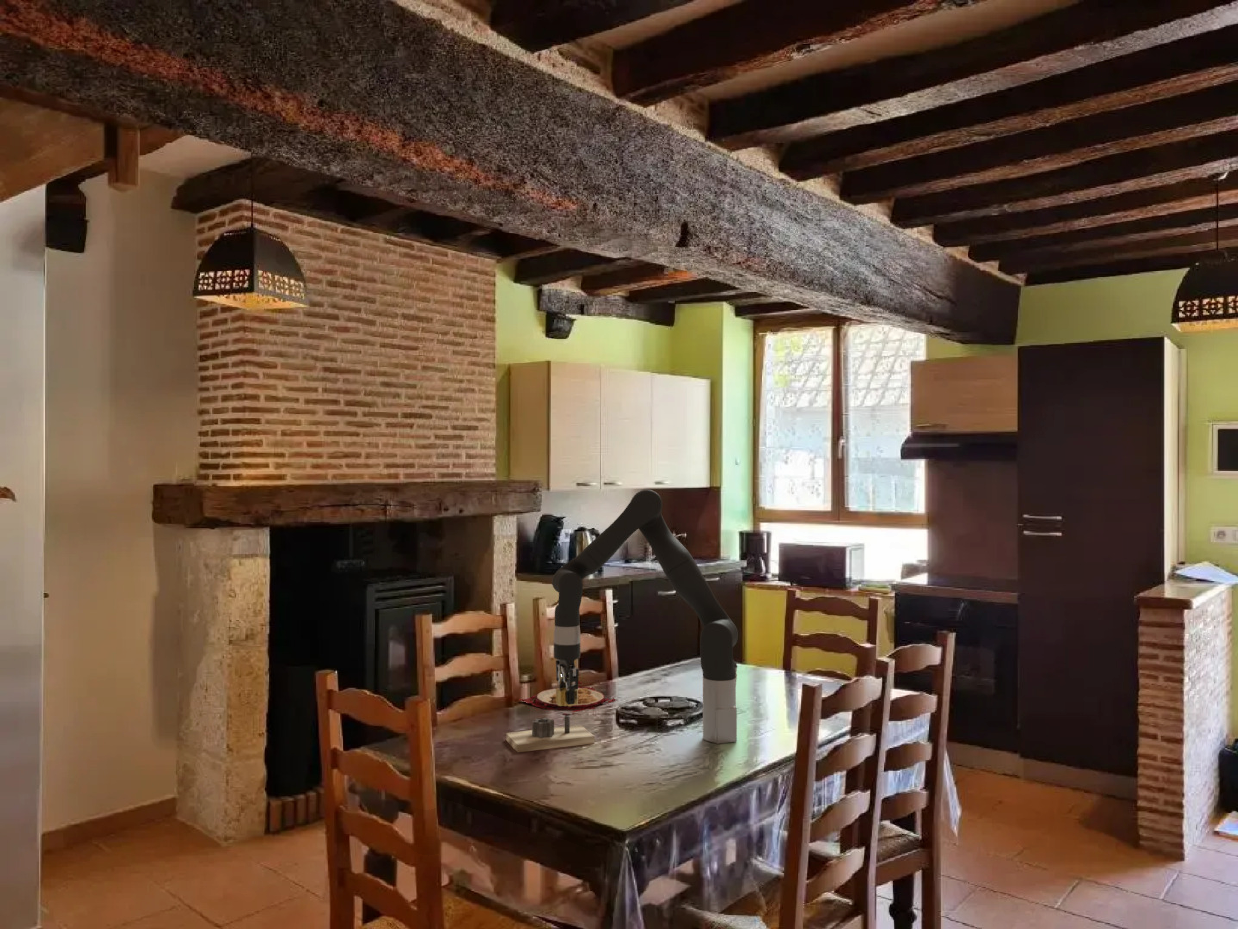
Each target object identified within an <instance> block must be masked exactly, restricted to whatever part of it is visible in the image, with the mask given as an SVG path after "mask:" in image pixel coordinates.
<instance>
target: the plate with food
mask: <svg viewBox="0 0 1238 929" xmlns="http://www.w3.org/2000/svg"><path fill="white" fill-rule="evenodd" d="M579 684H580V685H579ZM582 684H583V682H581V681H579V680H578V689H577V690H578V704H577V705H575V704H574V705H572V706H558V704H556V689H559V687H557V688H548V689H544V690H541V691H540V692H538V693H536V694H535V695H531V696H530V697H529V698H528V697H527V698H524V699H523V698H519V701H521V702H525V703H526V704H531V706H535V707H538V708H541V709H547V710H549V711H551V710H554V711H556V710H558V711H559V710H570V711H569V712H568V713H565V712H564V713H563V715H564V716H571V714H570V713H572V715H574V713H576V712H580V711H581V712H582V711H584V710H585V711H586V710H595V709H596V707H597V706H599V705H603V704H604V703H606V702H607V703H606V705H607V704H608V706H609V705H610V703H615V702H616V701H618V699H616V698H614V697H613V698H611V699H610V698H609V697H606V696H605V695H604V693H602V692H600V691H598V690H596V689H595V688H594V687H593V686H592V687H590V686H588V687H587V686H586V687H585V686H582ZM605 697H606V698H605ZM533 700H535V701H533Z"/></svg>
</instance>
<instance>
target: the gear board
mask: <svg viewBox="0 0 1238 929" xmlns="http://www.w3.org/2000/svg"><path fill="white" fill-rule="evenodd" d="M570 716H571V715H564V726H558V727H557V726H555V720H554V719H550V718H548V717H544V718H534V719H533V721H531V729H530V730H522V731H520V730H519V731H514V732H512V731H511V732H506V733H505V738H506V739H505V740H506V742H507V743H508V744H509V745H510V746H511V747H512V748H513V750H515V751H516V753H524V752H531V751H534V752H535V751H539V750H540V751H541V750H549V749H558V748H566V747H567V748H568V747H575V746H584V745H592V744H596V742H595V739H596V738H595V737H596V736H595V735H594V734H593V733H592V732H590V731H589V730H587V729H586V728H585V727H584V726H583V725H582V724H576V725H570V724H571V723H570V722H571V721H570V719H571V717H570Z"/></svg>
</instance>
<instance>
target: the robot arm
mask: <svg viewBox="0 0 1238 929" xmlns="http://www.w3.org/2000/svg"><path fill="white" fill-rule="evenodd" d="M662 510H663V501H662V498H661V496H660V494H659V493H657V492H656V491H654V490H652V489H642V490H640V491H638V492H636V493H635V494H634V495H633V497H631V500H630V502H629V503H628V505H627V506H626V507H625V509H624V510H623V511H622V512H621V513H620V514H619V516H618V517H617V518H616V519H615V520H614V521H613V522H612V523H610V525H609V526H608V527H607V528H606V529H604V530H603V531H601V533H600V534H599V535H597V536H596V538H594V540H592V541H591V542H590V543H589V544H588V545H587V546H586V547H584V549H583V550H581V551H580V553H579V554H578V555H577V556H575V557H574V558H571V560H569V561H568V562H567V563H565V564H563V565H562V566H561V567H560V568H559V569H558V570H557V571H556V572H555V573H554V575H553V577H552V580H551V586H552V587H553V589H554V590H555V591H556V592H557V593H558V602H557V605H556V606H555V608H554V629H553V658H554V659H555V673H556V674H555V676H556V682H557V683H558V686H559V687H558V688H559V689H560V688H562V687H566V690H567V691H566V703H567V704H574V703H575V690H576V689H578V686H579V683H578V681H579V678H580V677H579V675H580V674H579V671H580V669H579V668H577V667H576V665H575V661H576V660H578V659H580V658H581V627H580V626H581V623H580V621H581V620H580V619H581V618H580V617H581V616H580V614H581V613H580V608H581V603H582V598H583V588H584V585H583V583H584V582H583V580H584V579H585V578H586V577H587V576H590V575H594V574H595V573H596V572H598V571H599V570H600V569H601V568H603V566H604V565H606V563H607V562H608V561H609V560H610V559H611V558H612V557H613V556H614V555H615V554H616V553H617V551H618V550H619V549H620V548H621V547H622V546H623V544H624V543H625V542H626V541H627V540H628V539H629V538H630V537H631V536H632V535H633V534H634V533H635V532H636V531H637V530H639V531H640V533H641V534H642V536H643V537H644V538H645V540H646V541H647V543H648V544H649V547H650V548H651V549H652V552H653V554H654V556H655V557H656V559H657V561H658V563H659V566H660V567H661V569H662V571H663V573H664V575H665V577H666V578H667V580H668V582H669V584H671V586H672V588H673V589H674V590H675V592H676V593H677V594H678V596H679V597H680V598H682V599H683V600H684V602H685V603H686V604H688V605H689V606H690V607H691V608H692V610H693V611H694V613H695V615H697V617H698V619H699V621H700V623H701V624H702V627H703V628H702V630H701V632H700V637H699V638H700V639H699V640H700V641H699V648H700V649H699V651H700V652H699V654H700V667H701V670H702V739H703V740H704V741H707V742H710V743H713V744H717V745H720V744H726V743H735V742H738V741H737V740H738V738H737V730H738V728H737V726H738V724H737V723H738V722H737V720H738V719H737V718H738V716H737V712H738V711H737V701H736V700H737V696H736V694H737V692H736V691H737V690H736V689H737V679H736V674H737V672H736V669H735V667H734V665H733V660H734V655H733V653H734V652H733V650H734V649H733V648H734V647H735V646H736V644H737V642H738V640H739V633H738V628H737V626H736V624H734V622H733V620H732V618H730V616H729V615H728V614H727V612H726V611H725V609H723V607H722V606H721V604H720V602H719V601H718V599H716V596H715V594H714V592H713V591H712V588H711V587H710V586H709V583H708V582H707V580H706V578H705V577H704V575H703V573H702V571H701V569H700V568H699V566H698V564H697V563H696V561H695V559H694V558H693V555H692V554H691V553H690V552H689V550H688V549H687V548H686V547H685V546H684V544H682V543H681V542H680V540H679V539H677V538H676V537H675V535H674V534H673V533H672V531H671V530H670V529H669V527H668V525H667V523H666V521H665V519H664V517H663V515H662Z"/></svg>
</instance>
